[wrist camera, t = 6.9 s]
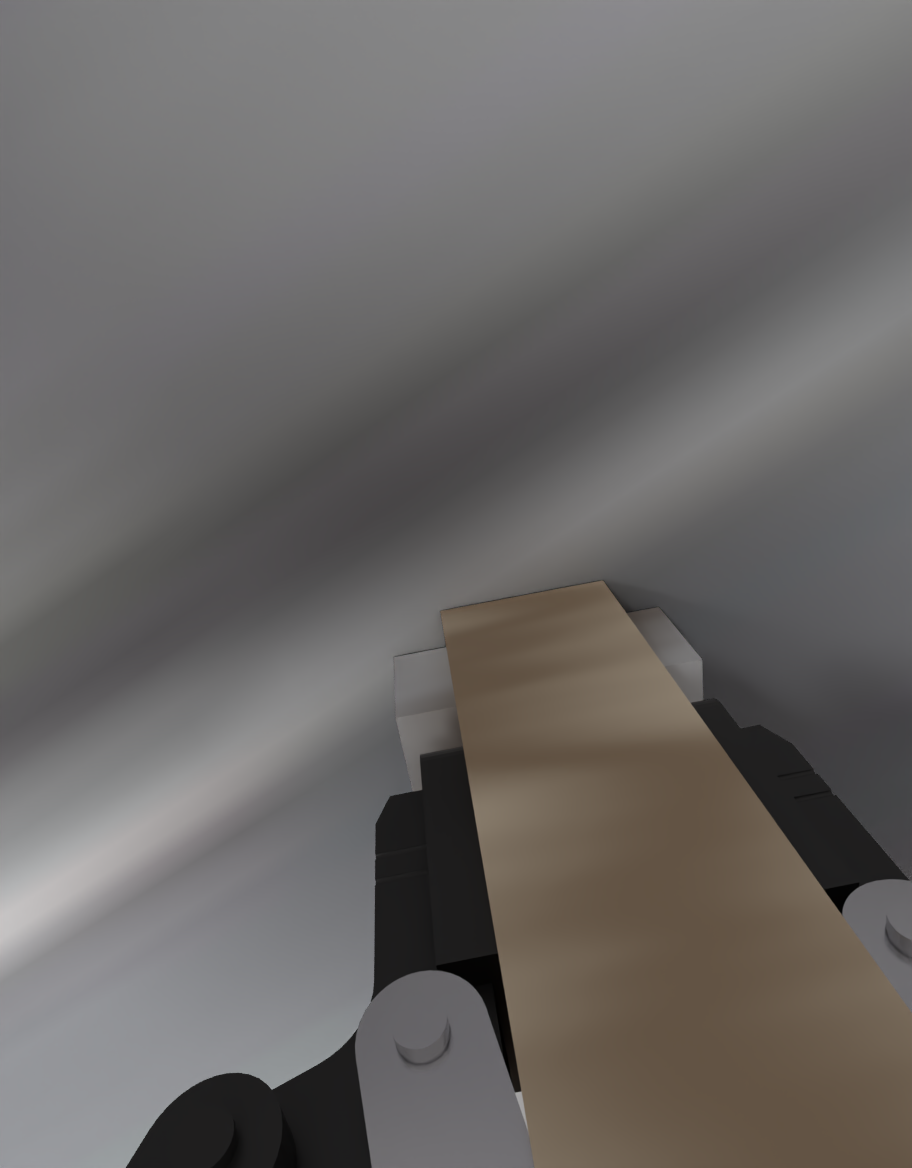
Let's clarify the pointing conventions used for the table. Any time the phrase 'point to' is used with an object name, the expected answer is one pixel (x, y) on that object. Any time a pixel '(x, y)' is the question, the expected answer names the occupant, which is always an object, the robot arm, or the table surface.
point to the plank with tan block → (651, 906)
